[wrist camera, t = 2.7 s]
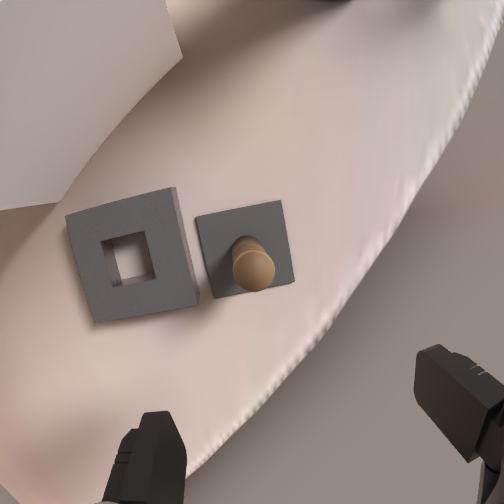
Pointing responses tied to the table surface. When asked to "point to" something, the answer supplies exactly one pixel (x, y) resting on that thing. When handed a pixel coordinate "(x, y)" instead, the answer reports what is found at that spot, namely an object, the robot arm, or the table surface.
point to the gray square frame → (160, 247)
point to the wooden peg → (251, 264)
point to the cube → (71, 85)
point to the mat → (240, 224)
